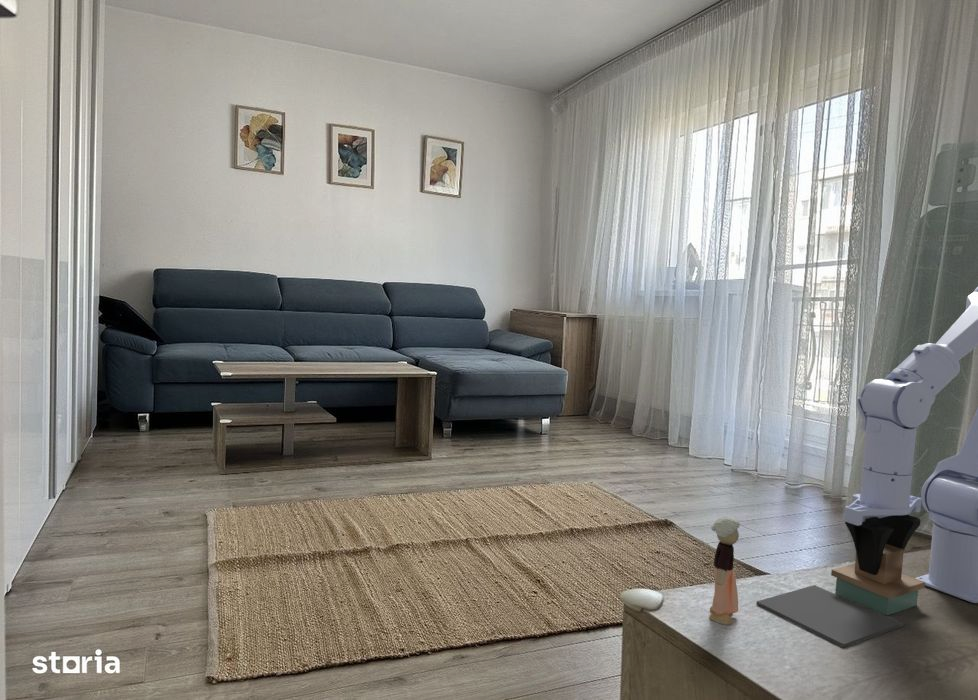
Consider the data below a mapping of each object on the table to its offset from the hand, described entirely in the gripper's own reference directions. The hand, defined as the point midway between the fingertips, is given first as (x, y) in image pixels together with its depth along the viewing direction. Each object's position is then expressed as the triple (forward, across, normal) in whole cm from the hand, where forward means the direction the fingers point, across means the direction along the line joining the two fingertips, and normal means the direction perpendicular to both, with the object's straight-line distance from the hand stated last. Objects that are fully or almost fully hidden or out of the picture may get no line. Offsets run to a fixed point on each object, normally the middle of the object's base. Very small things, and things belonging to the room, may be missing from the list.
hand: (878, 569), depth 91 cm
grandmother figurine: (+4, +23, -6) cm, 24 cm away
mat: (+4, +10, 0) cm, 11 cm away
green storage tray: (+4, 0, 0) cm, 4 cm away
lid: (+2, 0, 0) cm, 2 cm away
